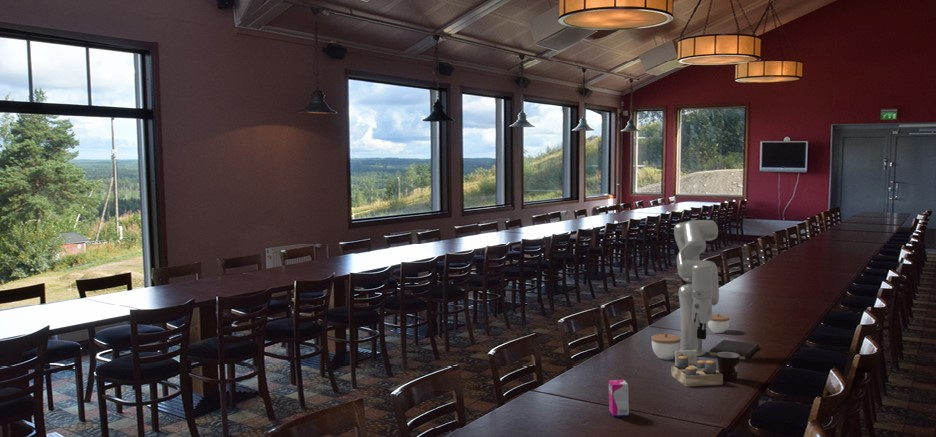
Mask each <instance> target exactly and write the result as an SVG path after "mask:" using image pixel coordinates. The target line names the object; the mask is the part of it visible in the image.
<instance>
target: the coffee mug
mask: <svg viewBox="0 0 936 437" xmlns="http://www.w3.org/2000/svg"><path fill="white" fill-rule="evenodd" d="M716 358H717V365H718V366H717V367H718V372H720V373H721V374H723V382H731V383H734V382H736V381H737V380H738V375H739V372H738V371H739V365H740V360H741V359H740V355H739V354H737V353H732V352H720V353H717V356H716Z"/></svg>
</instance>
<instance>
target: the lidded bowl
mask: <svg viewBox="0 0 936 437" xmlns="http://www.w3.org/2000/svg"><path fill="white" fill-rule="evenodd" d="M650 339H651V347H652V351H653V353H654V354H655V355H656V356H657V358H658V359H660V360H675V351H679V349H680V347H681V336H678V335H675V334H670V333H668V332H664V333H659V334H657V333H656V334H654V335H652V336H651V338H650Z"/></svg>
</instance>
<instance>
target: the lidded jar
mask: <svg viewBox="0 0 936 437" xmlns="http://www.w3.org/2000/svg"><path fill="white" fill-rule="evenodd" d="M729 325H730V316H729V315H724V314H720V313H717V314H712V320H711V321H709V322H707V326H708V328H709V329H710V331H711V332H712V333H715V334H723V333H725V332H726V331H728V329H729V327H730V326H729Z"/></svg>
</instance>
